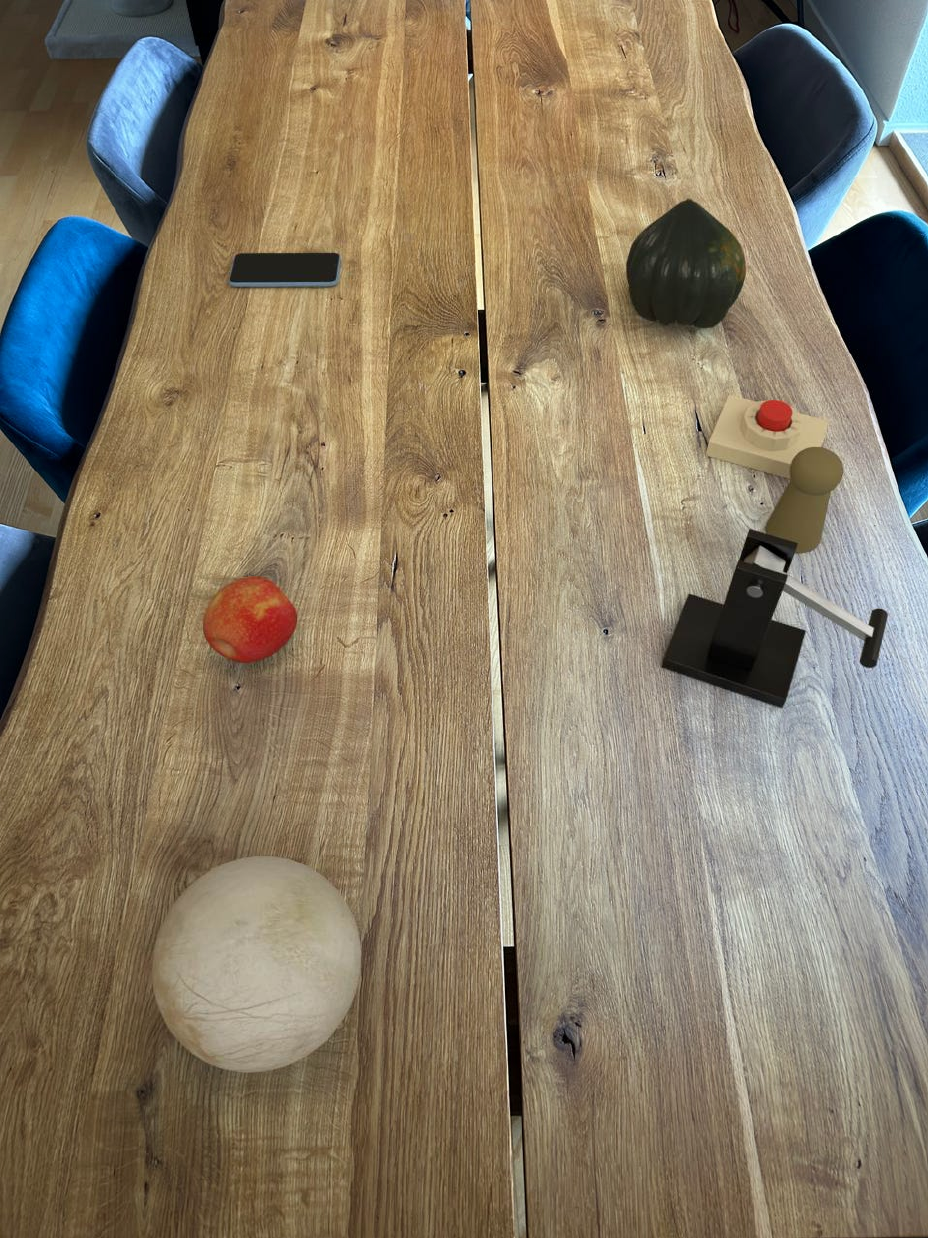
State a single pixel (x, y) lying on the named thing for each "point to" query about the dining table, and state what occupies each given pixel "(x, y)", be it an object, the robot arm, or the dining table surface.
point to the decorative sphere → (256, 964)
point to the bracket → (741, 631)
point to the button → (774, 415)
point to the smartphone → (284, 269)
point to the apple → (249, 620)
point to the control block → (762, 438)
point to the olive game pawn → (806, 498)
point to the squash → (685, 268)
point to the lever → (829, 608)
